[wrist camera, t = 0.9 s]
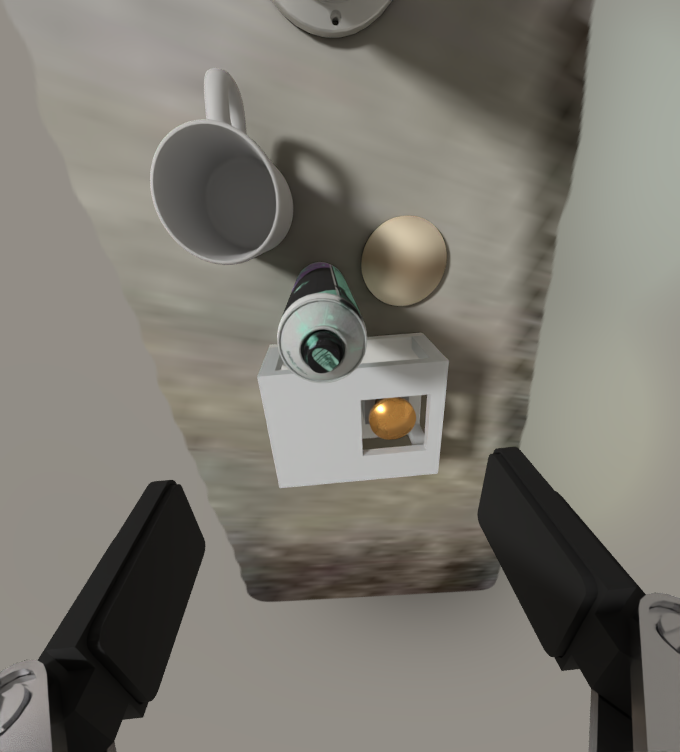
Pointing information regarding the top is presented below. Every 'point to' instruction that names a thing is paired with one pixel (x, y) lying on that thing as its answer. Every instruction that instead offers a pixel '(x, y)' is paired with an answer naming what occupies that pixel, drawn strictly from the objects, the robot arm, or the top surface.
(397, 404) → the button
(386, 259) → the coaster
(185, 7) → the top surface
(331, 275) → the spray can
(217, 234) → the mug
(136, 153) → the top surface
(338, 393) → the white open box frame
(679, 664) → the robot arm
